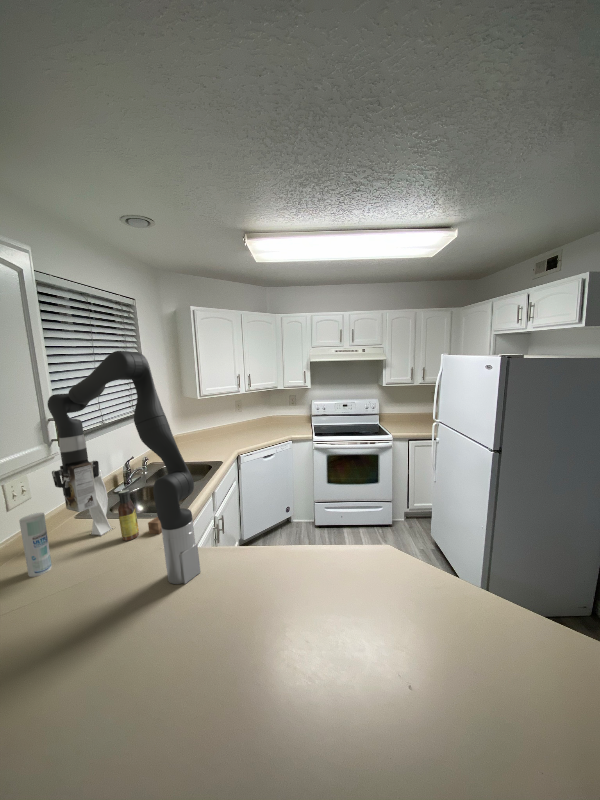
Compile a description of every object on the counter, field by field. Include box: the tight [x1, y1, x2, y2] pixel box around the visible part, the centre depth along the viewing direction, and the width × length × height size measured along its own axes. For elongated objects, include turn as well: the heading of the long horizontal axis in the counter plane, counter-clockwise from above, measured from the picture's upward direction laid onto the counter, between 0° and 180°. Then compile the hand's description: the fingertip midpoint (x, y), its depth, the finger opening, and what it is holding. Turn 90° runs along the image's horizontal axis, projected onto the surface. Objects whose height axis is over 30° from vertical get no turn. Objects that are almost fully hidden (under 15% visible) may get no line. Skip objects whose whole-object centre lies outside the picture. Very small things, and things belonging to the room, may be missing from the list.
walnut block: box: [147, 516, 162, 535], centre depth 126 cm, size 5×5×5 cm
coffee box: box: [59, 463, 97, 513], centre depth 107 cm, size 9×6×16 cm
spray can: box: [19, 512, 52, 578], centre depth 103 cm, size 6×6×20 cm
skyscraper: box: [88, 469, 114, 537], centre depth 129 cm, size 8×8×28 cm
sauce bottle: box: [117, 489, 140, 542], centre depth 122 cm, size 7×6×20 cm
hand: (80, 493), depth 107 cm, fingers closed on coffee box, 6 cm apart
